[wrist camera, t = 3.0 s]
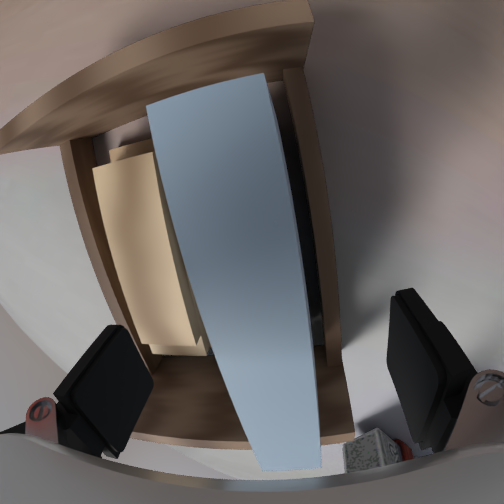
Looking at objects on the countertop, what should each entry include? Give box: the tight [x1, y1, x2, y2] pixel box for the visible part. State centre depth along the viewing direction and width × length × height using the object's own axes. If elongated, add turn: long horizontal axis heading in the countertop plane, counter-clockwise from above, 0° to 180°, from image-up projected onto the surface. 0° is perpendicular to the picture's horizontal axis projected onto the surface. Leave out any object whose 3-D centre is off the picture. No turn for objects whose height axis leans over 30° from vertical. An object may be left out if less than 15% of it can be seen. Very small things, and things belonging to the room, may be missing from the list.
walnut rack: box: [0, 0, 355, 450], centre depth 18 cm, size 19×24×10 cm
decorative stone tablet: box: [343, 428, 415, 473], centre depth 23 cm, size 19×6×30 cm
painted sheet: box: [146, 73, 322, 471], centre depth 15 cm, size 3×16×14 cm, turn 12°
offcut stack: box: [92, 138, 212, 356], centre depth 21 cm, size 6×18×5 cm, turn 8°
